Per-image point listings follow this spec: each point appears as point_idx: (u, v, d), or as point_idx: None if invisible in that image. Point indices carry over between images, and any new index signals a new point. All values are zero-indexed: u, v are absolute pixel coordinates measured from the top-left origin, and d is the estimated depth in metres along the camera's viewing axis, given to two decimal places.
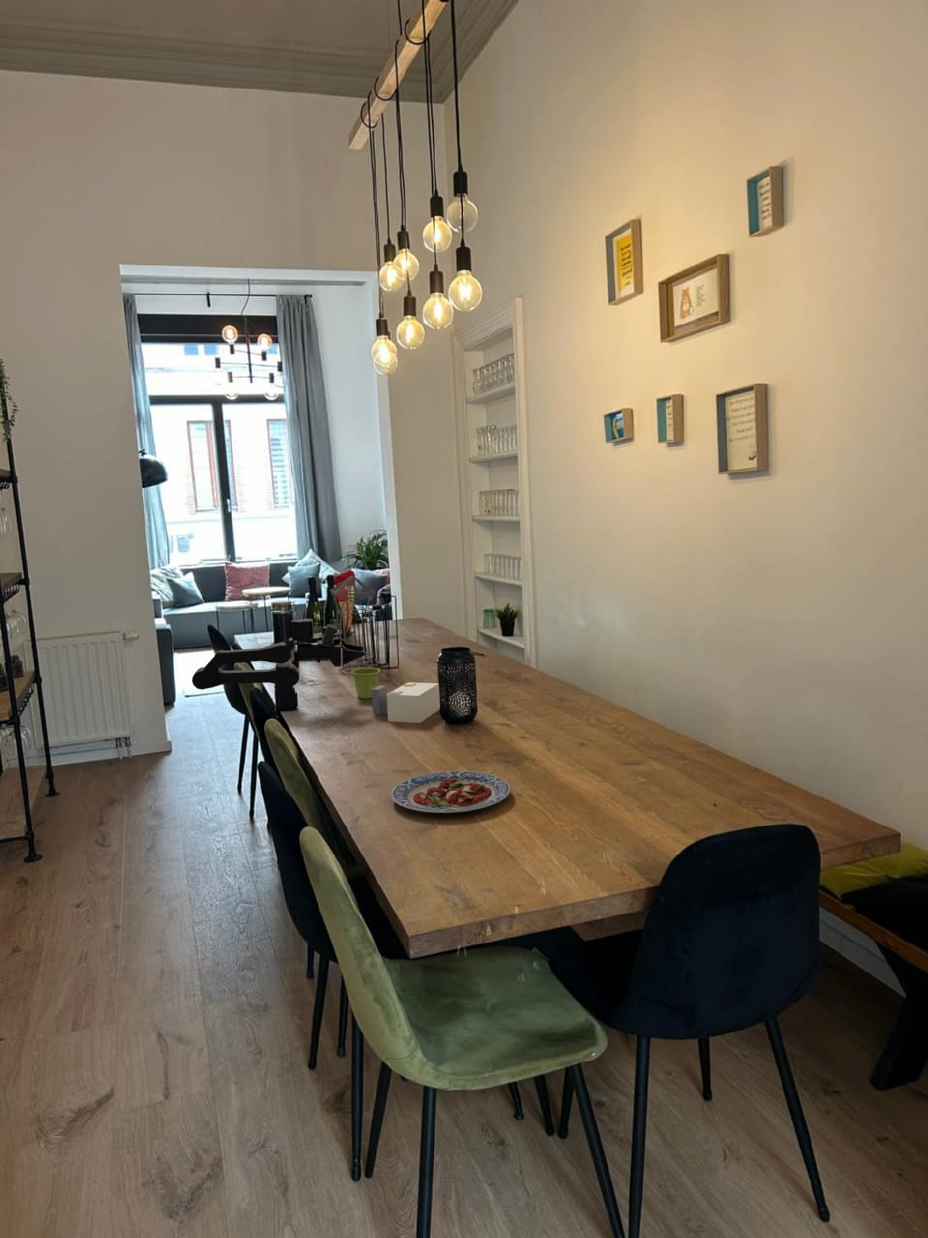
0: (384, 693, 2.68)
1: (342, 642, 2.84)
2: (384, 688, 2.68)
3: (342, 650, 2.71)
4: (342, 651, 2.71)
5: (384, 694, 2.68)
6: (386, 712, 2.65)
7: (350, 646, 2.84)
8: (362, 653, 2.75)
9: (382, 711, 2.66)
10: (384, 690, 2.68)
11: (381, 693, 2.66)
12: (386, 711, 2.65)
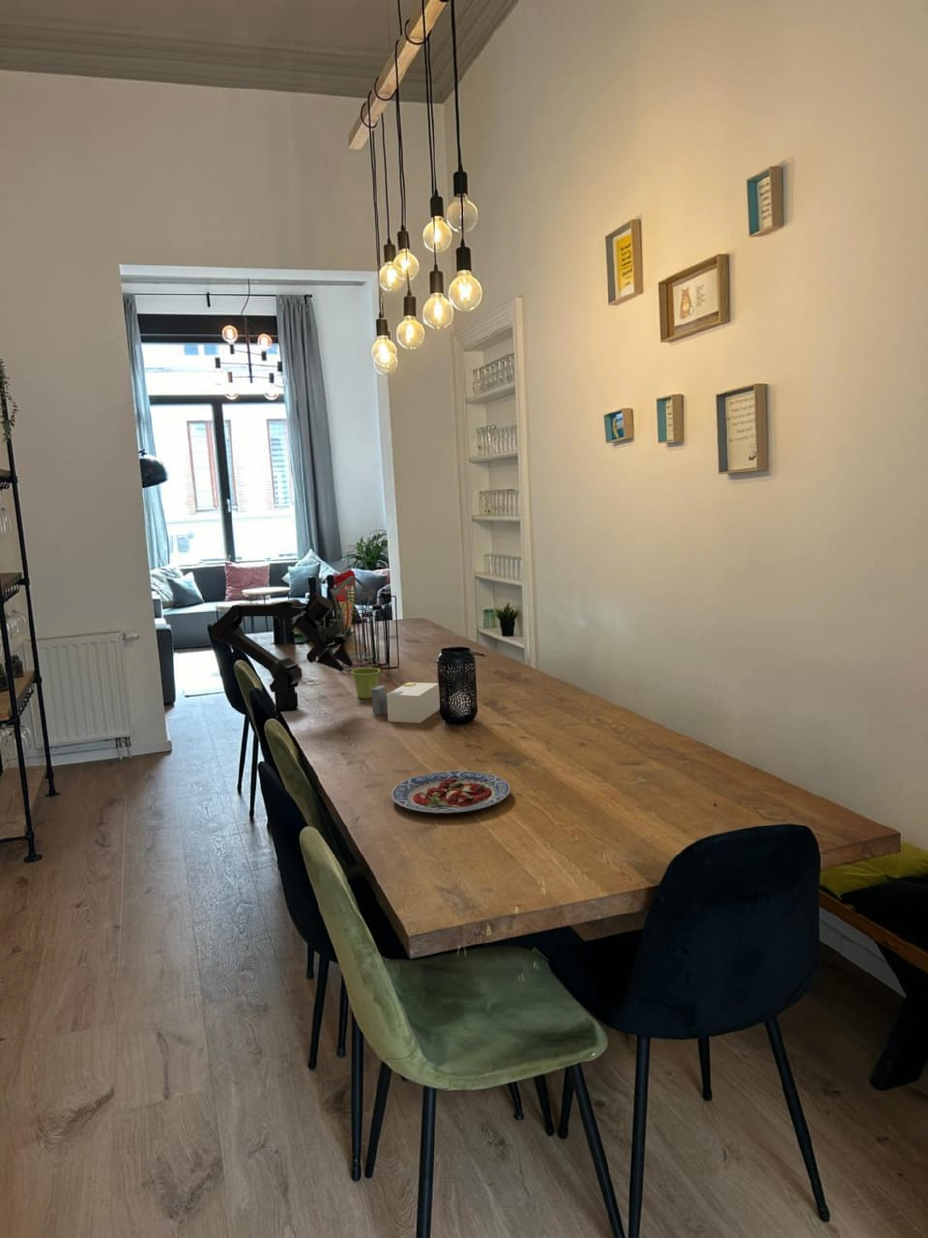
0: (384, 693, 2.68)
1: (342, 645, 2.74)
2: (384, 688, 2.68)
3: (325, 651, 2.64)
4: (324, 652, 2.64)
5: (384, 694, 2.68)
6: (386, 712, 2.65)
7: (344, 654, 2.73)
8: (340, 668, 2.67)
9: (382, 711, 2.66)
10: (384, 690, 2.68)
11: (381, 693, 2.66)
12: (386, 711, 2.65)
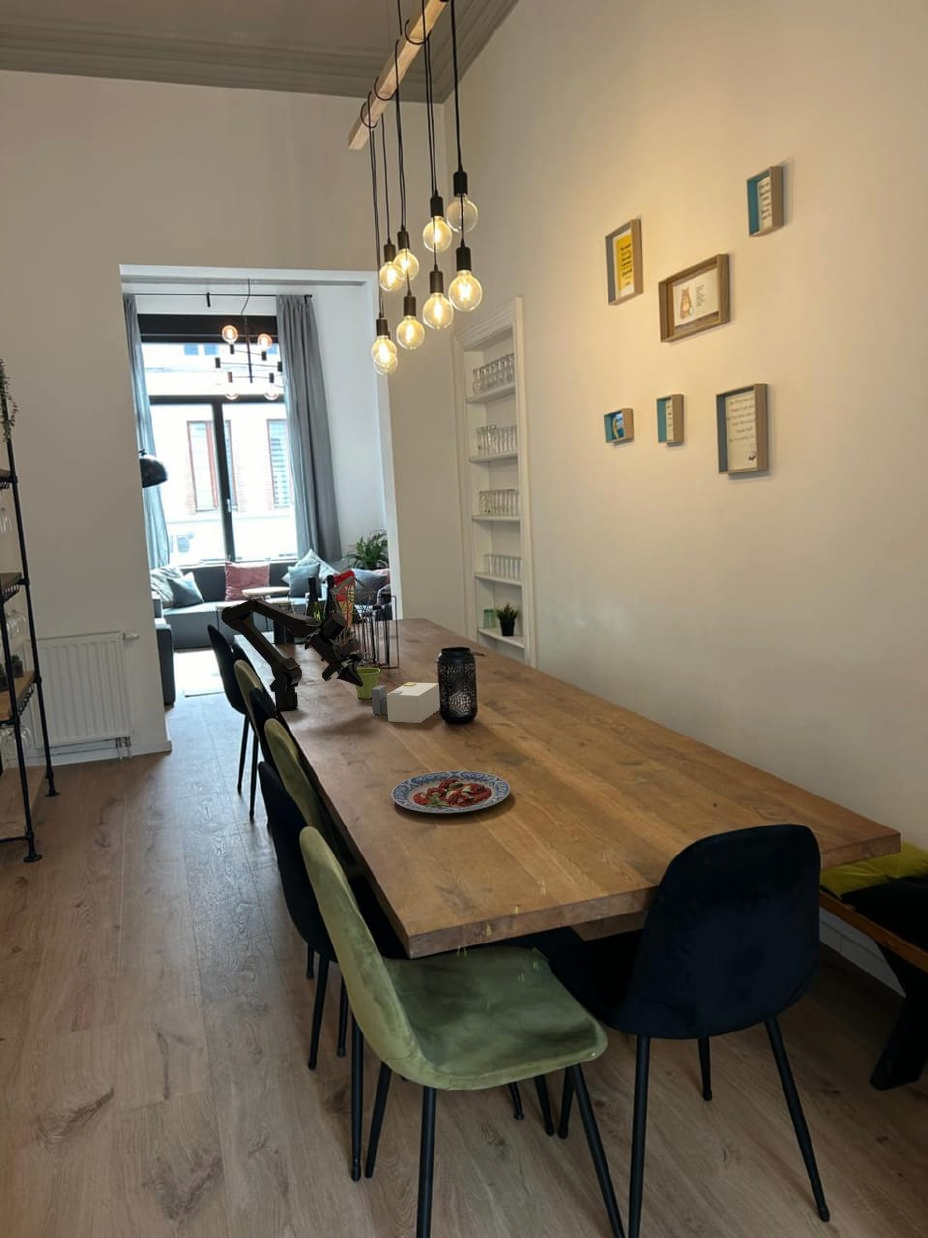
0: (384, 693, 2.68)
1: (352, 665, 2.70)
2: (384, 688, 2.68)
3: (344, 668, 2.66)
4: (344, 668, 2.66)
5: (384, 694, 2.68)
6: (386, 712, 2.65)
7: None
8: (360, 684, 2.68)
9: (382, 711, 2.66)
10: (384, 690, 2.68)
11: (381, 693, 2.66)
12: (386, 711, 2.65)
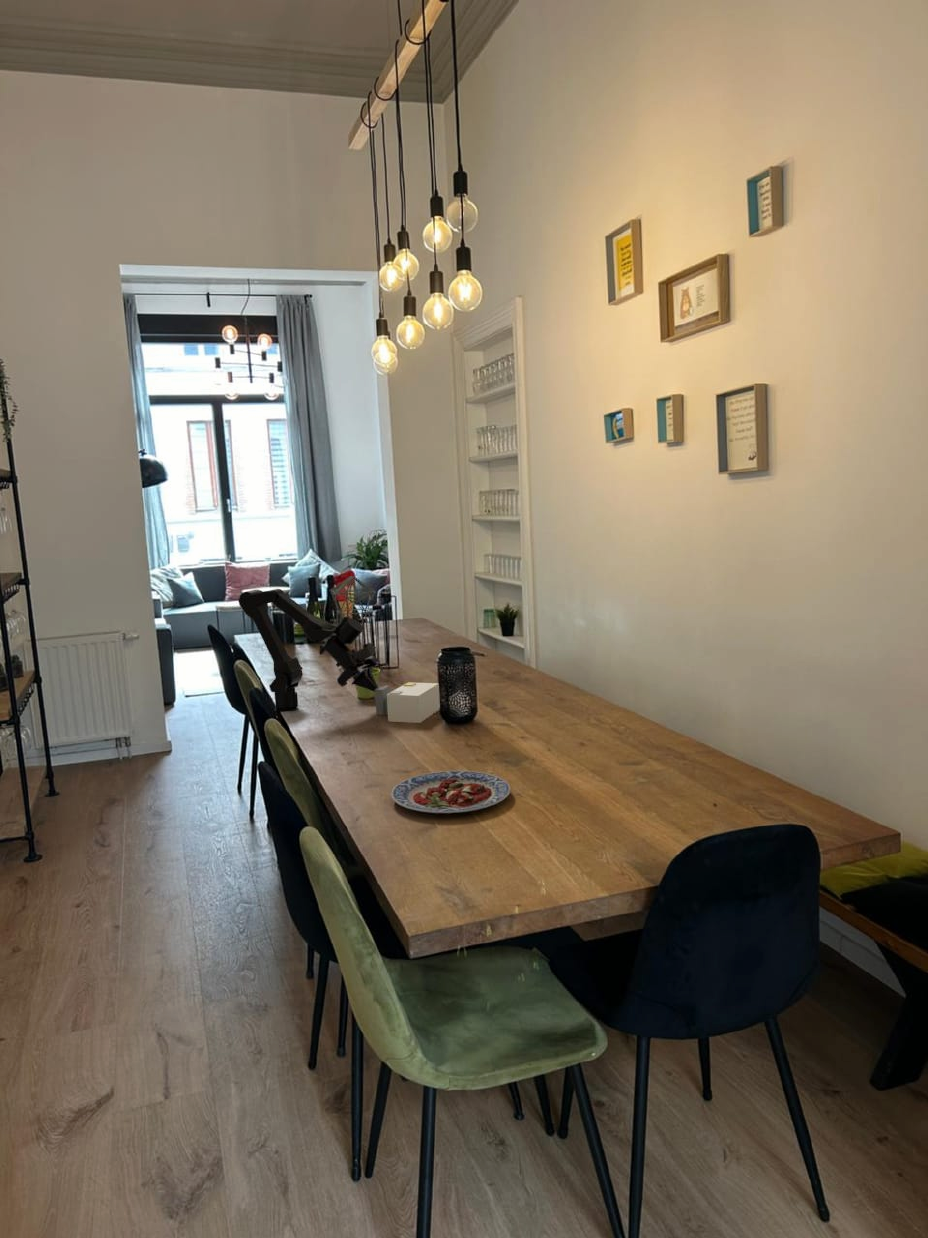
0: (387, 693, 2.68)
1: (367, 670, 2.68)
2: (387, 688, 2.68)
3: (360, 673, 2.65)
4: (359, 674, 2.65)
5: None
6: None
7: (370, 679, 2.68)
8: None
9: (385, 711, 2.65)
10: (387, 690, 2.68)
11: (385, 693, 2.66)
12: None
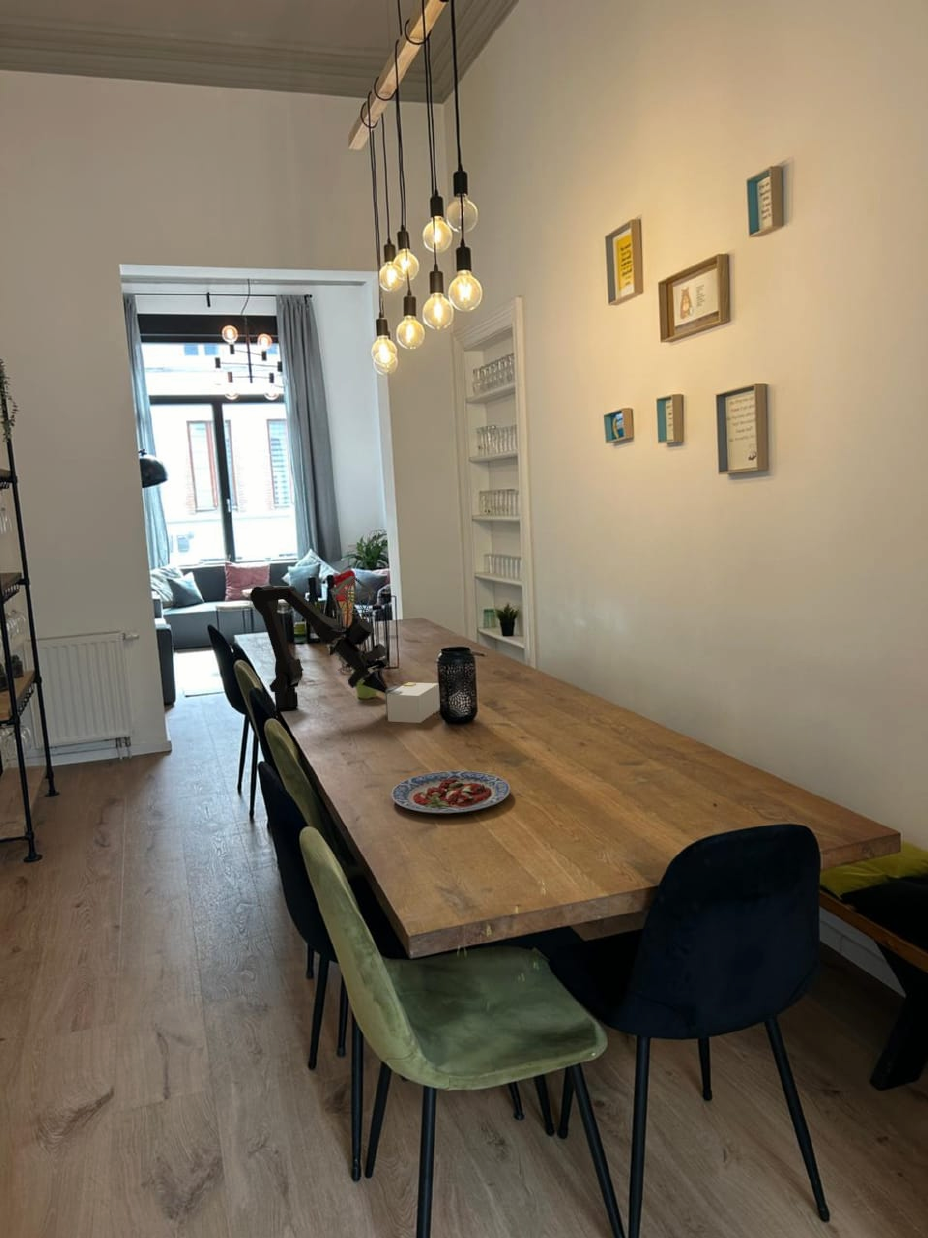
0: None
1: (378, 671, 2.67)
2: None
3: (370, 674, 2.63)
4: (370, 675, 2.63)
5: None
6: None
7: (381, 681, 2.67)
8: None
9: None
10: None
11: None
12: None
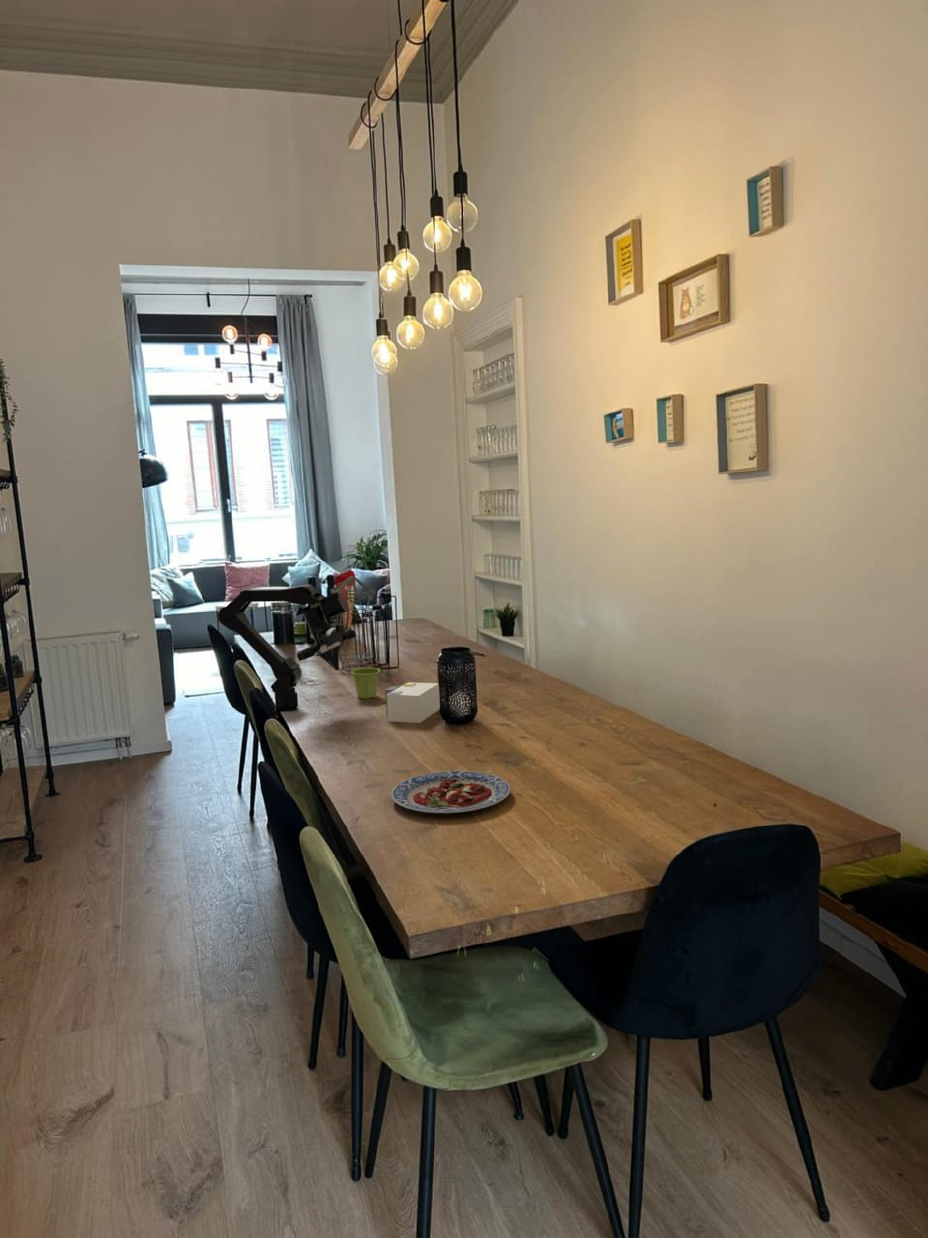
0: None
1: (333, 649, 2.73)
2: None
3: (321, 653, 2.71)
4: (320, 653, 2.71)
5: None
6: None
7: (334, 657, 2.74)
8: (335, 668, 2.74)
9: None
10: None
11: None
12: None
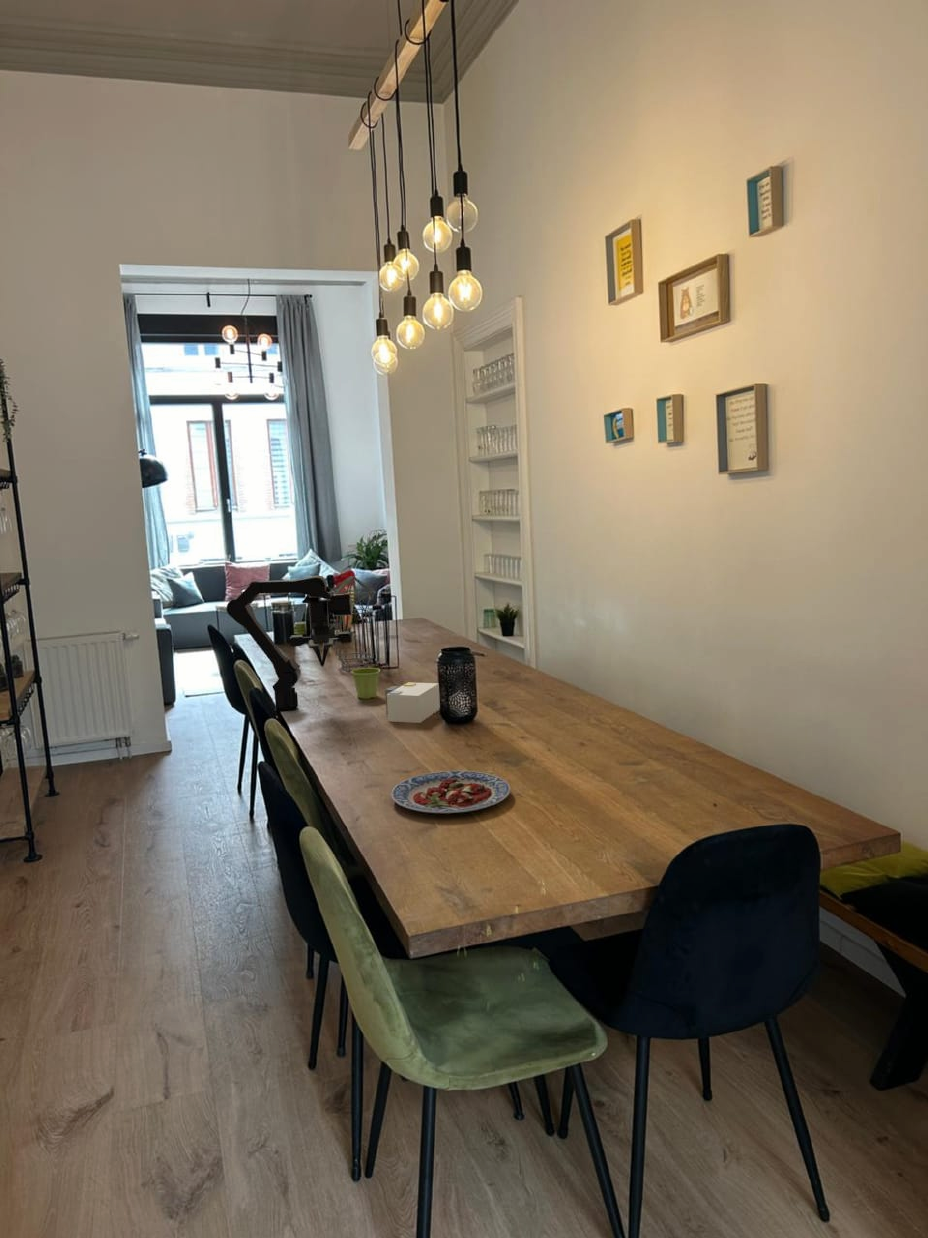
0: None
1: (323, 646, 2.75)
2: None
3: (309, 646, 2.74)
4: (309, 646, 2.74)
5: None
6: None
7: (322, 654, 2.76)
8: (320, 664, 2.77)
9: None
10: None
11: None
12: None
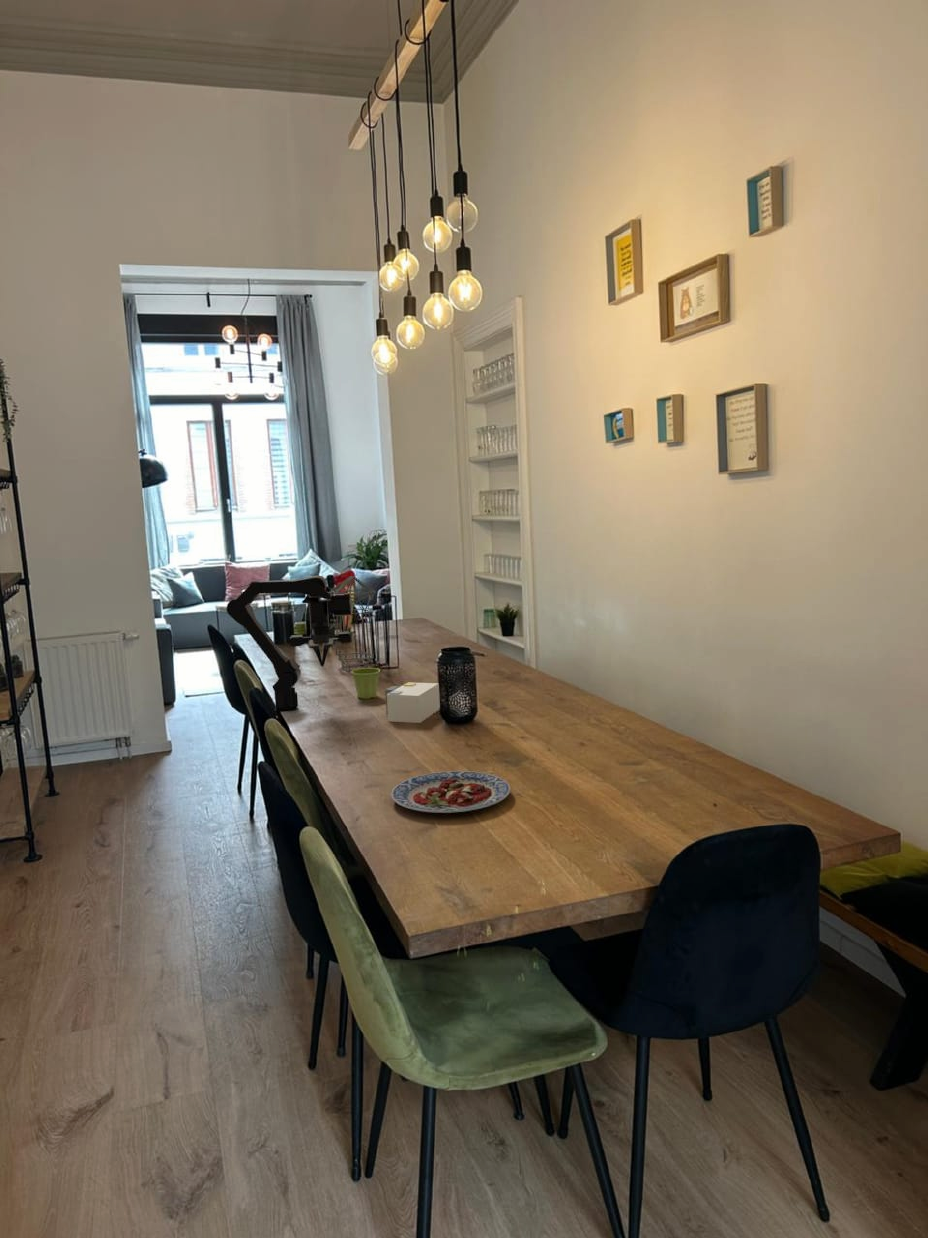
0: None
1: (323, 646, 2.75)
2: None
3: (309, 646, 2.74)
4: (309, 646, 2.74)
5: None
6: None
7: (322, 654, 2.76)
8: (320, 664, 2.77)
9: None
10: None
11: None
12: None
